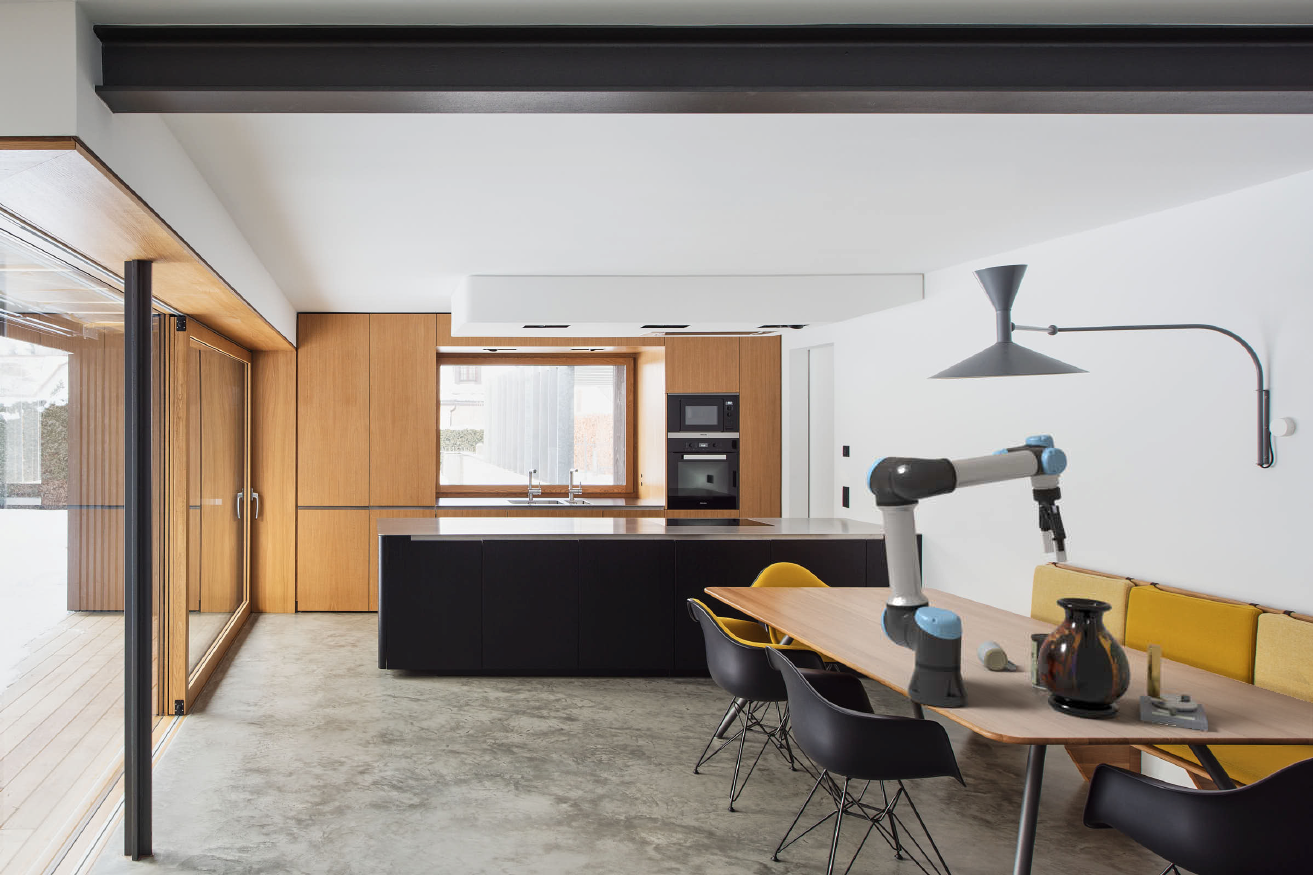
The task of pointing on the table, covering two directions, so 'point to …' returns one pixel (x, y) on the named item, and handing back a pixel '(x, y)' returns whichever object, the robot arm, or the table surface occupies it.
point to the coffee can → (1036, 659)
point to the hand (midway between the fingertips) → (1055, 557)
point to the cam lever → (1154, 684)
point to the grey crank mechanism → (1172, 715)
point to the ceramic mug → (994, 657)
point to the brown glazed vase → (1083, 662)
